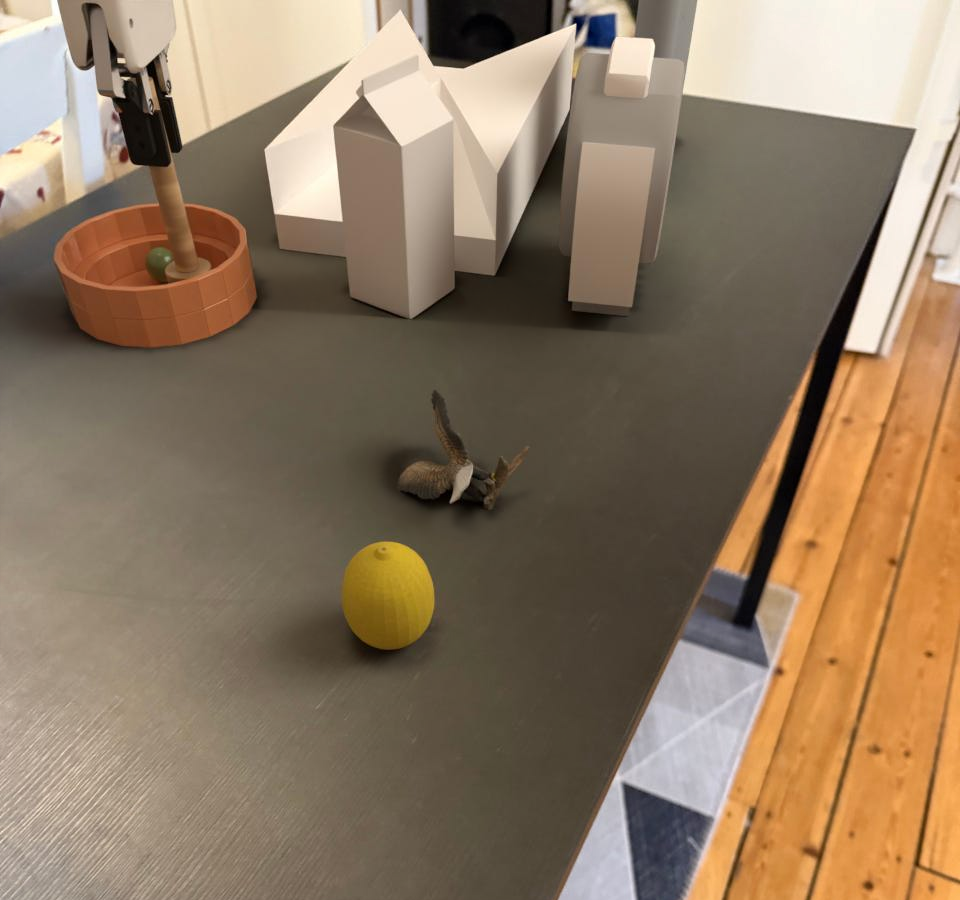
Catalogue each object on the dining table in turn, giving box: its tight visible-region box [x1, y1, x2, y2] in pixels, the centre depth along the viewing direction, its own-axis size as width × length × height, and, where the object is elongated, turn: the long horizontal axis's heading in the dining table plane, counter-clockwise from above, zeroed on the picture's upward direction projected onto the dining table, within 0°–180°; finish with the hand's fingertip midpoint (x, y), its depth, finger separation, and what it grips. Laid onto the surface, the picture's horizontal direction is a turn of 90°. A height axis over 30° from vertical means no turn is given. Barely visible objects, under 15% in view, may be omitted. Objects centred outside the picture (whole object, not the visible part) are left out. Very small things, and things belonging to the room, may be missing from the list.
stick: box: [126, 76, 212, 284], centre depth 76 cm, size 4×4×16 cm
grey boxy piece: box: [558, 36, 685, 317], centre depth 80 cm, size 18×8×20 cm, turn 170°
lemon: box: [340, 541, 436, 651], centre depth 55 cm, size 6×6×8 cm
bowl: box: [53, 202, 258, 349], centre depth 82 cm, size 16×16×6 cm
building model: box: [263, 9, 577, 277], centre depth 102 cm, size 45×22×10 cm, turn 167°
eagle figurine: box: [397, 388, 530, 510], centre depth 65 cm, size 8×7×9 cm
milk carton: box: [333, 55, 456, 320], centre depth 79 cm, size 7×7×19 cm
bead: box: [145, 247, 174, 282], centre depth 85 cm, size 3×3×3 cm
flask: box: [633, 0, 698, 107], centre depth 96 cm, size 17×5×25 cm, turn 162°
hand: (157, 155), depth 74 cm, fingers closed on stick, 2 cm apart
